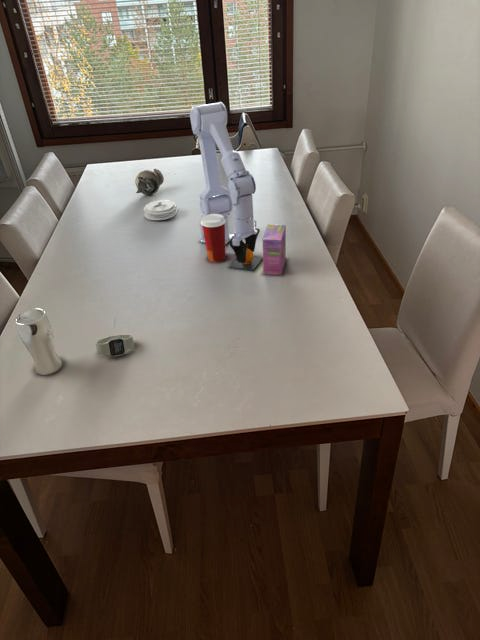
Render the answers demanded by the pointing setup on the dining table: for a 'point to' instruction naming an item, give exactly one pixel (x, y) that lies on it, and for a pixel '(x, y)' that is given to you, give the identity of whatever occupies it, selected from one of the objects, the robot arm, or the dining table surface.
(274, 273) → the box
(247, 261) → the clementine
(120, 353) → the wristwatch
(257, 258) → the felt pad
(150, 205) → the lid
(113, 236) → the dining table surface
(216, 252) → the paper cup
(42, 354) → the beer glass
